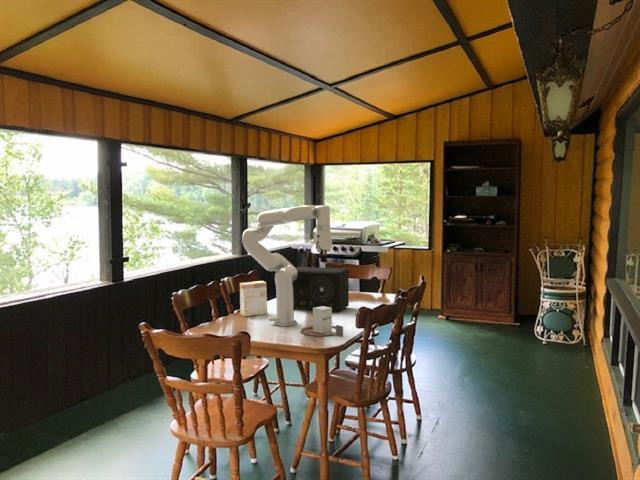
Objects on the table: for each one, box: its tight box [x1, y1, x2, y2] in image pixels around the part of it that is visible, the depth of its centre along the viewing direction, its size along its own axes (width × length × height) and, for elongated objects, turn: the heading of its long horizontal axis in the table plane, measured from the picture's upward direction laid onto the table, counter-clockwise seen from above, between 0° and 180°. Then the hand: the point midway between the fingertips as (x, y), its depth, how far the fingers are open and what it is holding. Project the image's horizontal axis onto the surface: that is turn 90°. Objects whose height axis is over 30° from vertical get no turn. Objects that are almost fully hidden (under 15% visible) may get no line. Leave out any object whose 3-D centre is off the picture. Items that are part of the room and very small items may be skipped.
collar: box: [300, 324, 344, 338], centre depth 282 cm, size 22×26×5 cm
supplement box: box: [312, 306, 333, 334], centre depth 284 cm, size 7×7×13 cm
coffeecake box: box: [239, 280, 268, 317], centre depth 328 cm, size 15×7×20 cm, turn 118°
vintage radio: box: [292, 266, 350, 313], centre depth 342 cm, size 38×20×25 cm, turn 67°
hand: (323, 261), depth 294 cm, fingers closed
